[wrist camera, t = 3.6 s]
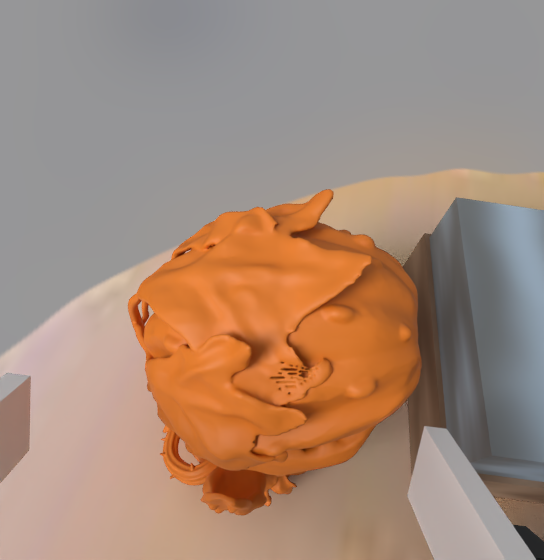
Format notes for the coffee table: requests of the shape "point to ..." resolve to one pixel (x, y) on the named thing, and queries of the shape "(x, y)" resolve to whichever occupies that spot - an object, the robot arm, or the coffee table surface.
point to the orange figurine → (274, 349)
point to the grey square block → (483, 342)
